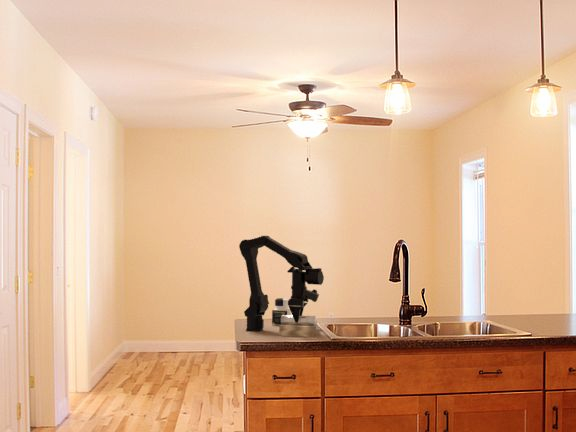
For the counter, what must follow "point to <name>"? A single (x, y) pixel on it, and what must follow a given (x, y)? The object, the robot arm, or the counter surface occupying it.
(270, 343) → the counter surface
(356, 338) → the counter surface
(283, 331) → the beech v-block
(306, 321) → the steel axle
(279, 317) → the medicine bottle
